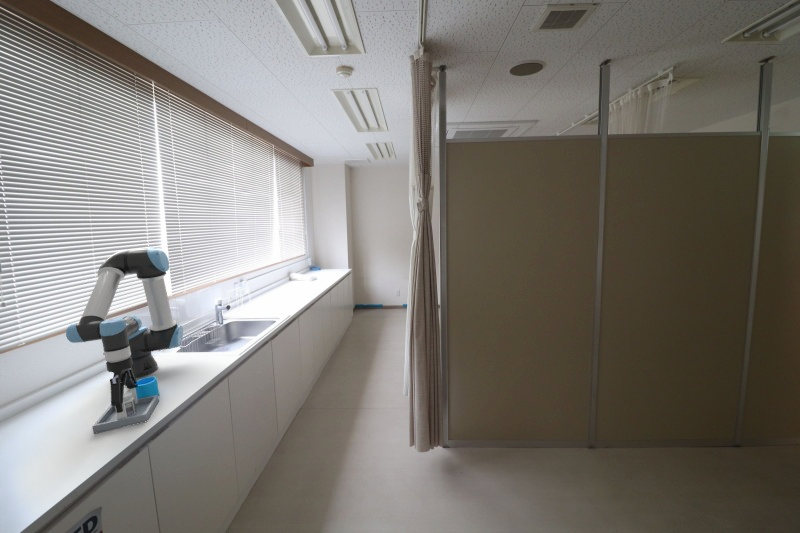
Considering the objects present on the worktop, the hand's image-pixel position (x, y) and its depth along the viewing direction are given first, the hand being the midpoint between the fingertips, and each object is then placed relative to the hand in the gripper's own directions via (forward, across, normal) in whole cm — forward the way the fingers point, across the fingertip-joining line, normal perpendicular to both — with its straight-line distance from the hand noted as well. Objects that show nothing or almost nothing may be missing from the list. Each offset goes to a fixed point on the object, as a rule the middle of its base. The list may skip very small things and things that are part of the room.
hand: (128, 411), depth 128 cm
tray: (+2, 0, 0) cm, 2 cm away
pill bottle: (+2, 0, 0) cm, 2 cm away
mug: (+2, -15, +3) cm, 15 cm away
